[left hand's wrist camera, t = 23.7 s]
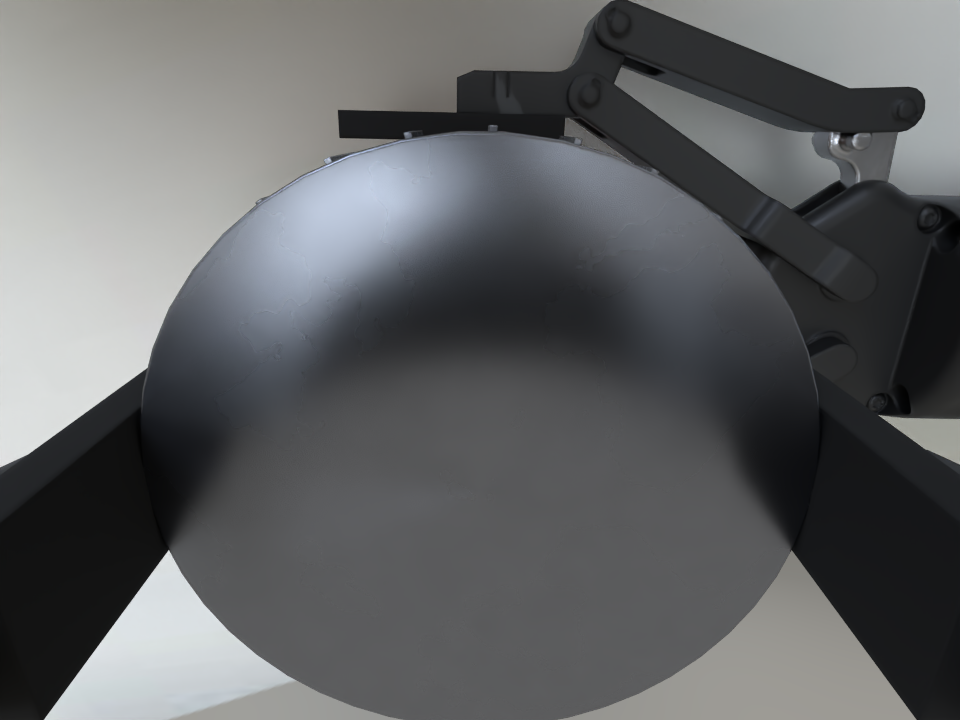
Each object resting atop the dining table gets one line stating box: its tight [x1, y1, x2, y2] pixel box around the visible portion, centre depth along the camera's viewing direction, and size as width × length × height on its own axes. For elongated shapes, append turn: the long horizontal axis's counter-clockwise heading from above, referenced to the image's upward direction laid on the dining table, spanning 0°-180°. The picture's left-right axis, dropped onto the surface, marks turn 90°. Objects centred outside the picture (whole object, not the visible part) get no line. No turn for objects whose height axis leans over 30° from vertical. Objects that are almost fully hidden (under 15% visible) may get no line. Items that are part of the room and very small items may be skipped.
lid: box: [140, 125, 821, 720], centre depth 11 cm, size 11×11×2 cm
